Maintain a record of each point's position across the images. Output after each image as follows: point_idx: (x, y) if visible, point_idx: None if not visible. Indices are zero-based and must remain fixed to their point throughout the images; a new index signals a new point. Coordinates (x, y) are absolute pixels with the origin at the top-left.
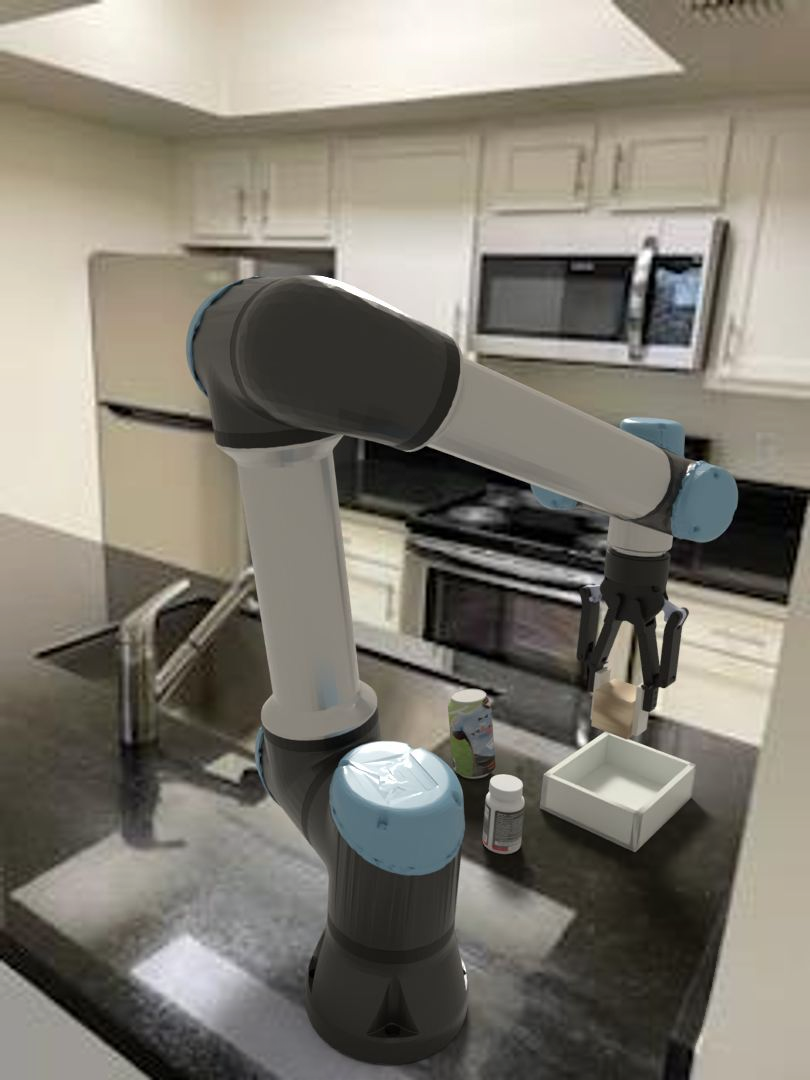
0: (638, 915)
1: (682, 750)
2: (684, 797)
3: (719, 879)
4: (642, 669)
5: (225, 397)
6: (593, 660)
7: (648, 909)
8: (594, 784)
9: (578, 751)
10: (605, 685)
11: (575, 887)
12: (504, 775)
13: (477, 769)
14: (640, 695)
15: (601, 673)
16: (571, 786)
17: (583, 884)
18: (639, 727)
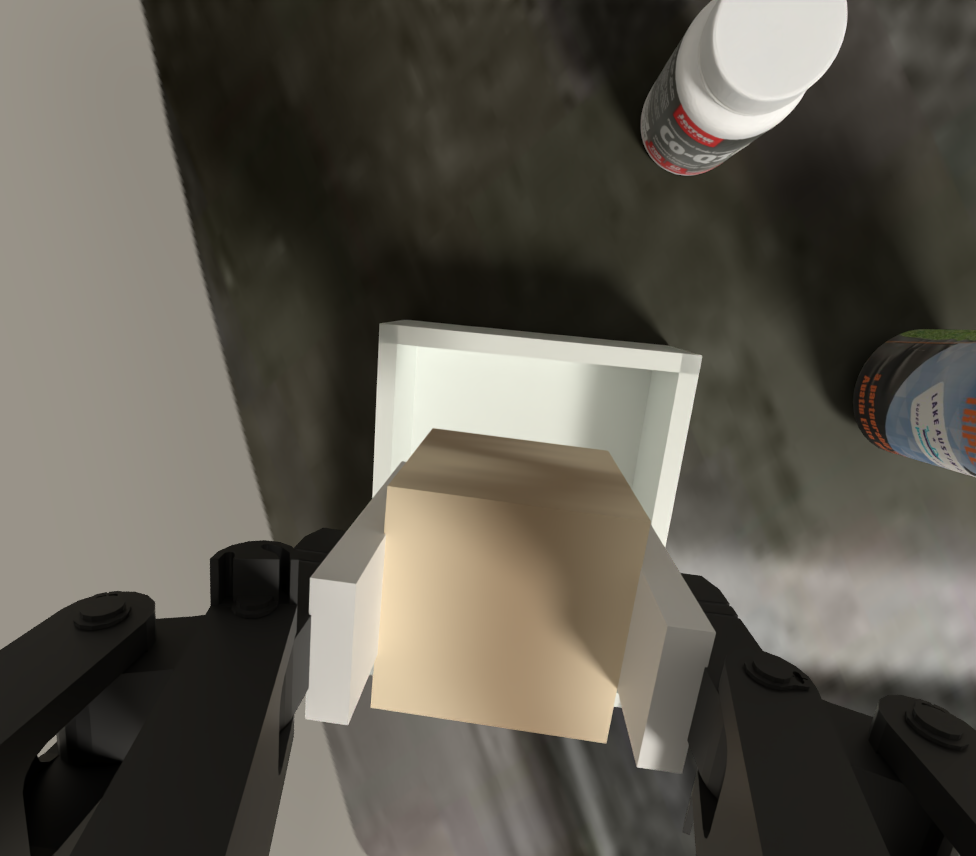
0: (305, 85)
1: (478, 793)
2: None
3: (228, 345)
4: (260, 692)
5: None
6: (793, 715)
7: (298, 124)
8: None
9: None
10: (617, 620)
11: (460, 80)
12: (807, 73)
13: (899, 345)
14: (340, 549)
15: (666, 642)
16: (601, 346)
17: (450, 107)
18: None
